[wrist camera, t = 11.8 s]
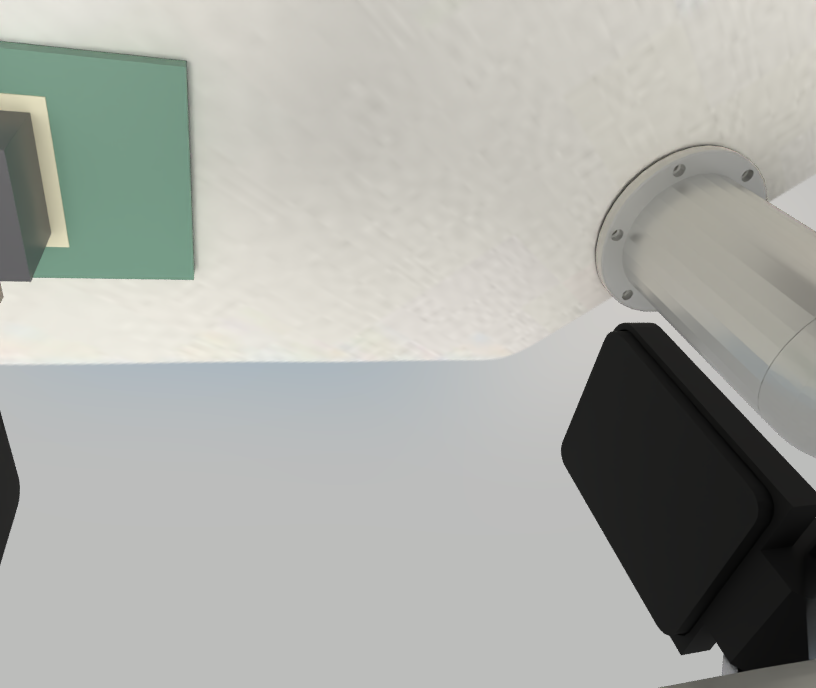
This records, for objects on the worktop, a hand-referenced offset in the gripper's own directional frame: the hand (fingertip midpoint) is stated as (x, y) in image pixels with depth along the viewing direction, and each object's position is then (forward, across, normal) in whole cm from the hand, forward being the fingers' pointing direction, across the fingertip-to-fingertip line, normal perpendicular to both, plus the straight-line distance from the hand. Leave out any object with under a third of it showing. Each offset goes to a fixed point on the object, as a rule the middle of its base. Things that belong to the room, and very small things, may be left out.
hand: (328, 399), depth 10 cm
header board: (+28, +13, +8) cm, 32 cm away
